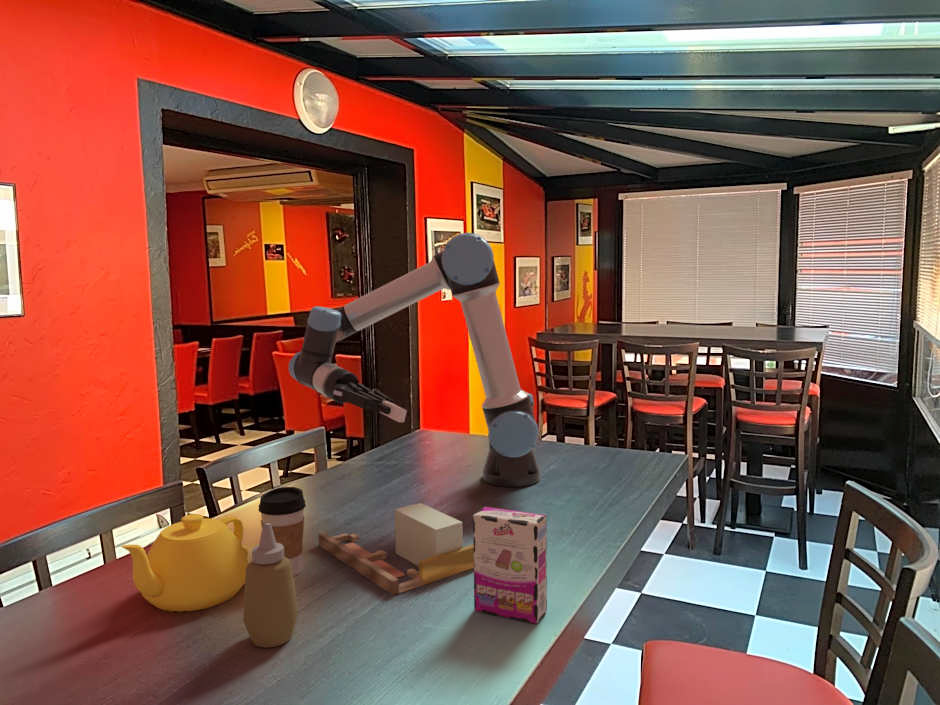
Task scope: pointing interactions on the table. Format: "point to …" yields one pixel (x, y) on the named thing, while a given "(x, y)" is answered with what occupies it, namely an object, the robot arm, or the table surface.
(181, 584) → the teapot
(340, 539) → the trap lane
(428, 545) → the brick
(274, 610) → the squeeze bottle
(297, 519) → the coffee cup
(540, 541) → the candy bar box
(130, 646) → the table surface
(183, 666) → the table surface
